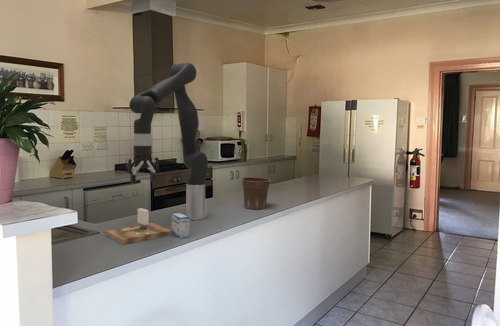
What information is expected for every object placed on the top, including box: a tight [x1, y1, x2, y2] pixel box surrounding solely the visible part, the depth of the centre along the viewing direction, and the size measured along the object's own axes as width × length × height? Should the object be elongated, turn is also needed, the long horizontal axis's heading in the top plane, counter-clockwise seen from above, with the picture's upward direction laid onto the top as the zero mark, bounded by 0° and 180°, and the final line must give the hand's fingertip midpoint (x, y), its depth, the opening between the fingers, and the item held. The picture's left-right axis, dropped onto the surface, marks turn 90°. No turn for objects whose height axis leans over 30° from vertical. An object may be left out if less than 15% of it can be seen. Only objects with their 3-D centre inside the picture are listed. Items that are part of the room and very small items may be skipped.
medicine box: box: [171, 212, 190, 239], centre depth 177 cm, size 8×4×9 cm, turn 37°
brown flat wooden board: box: [105, 222, 173, 246], centre depth 175 cm, size 22×16×2 cm
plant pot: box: [241, 176, 271, 210], centre depth 234 cm, size 16×16×16 cm
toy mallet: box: [122, 207, 150, 232], centre depth 176 cm, size 11×6×8 cm, turn 133°
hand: (142, 182), depth 177 cm, fingers open, 8 cm apart
